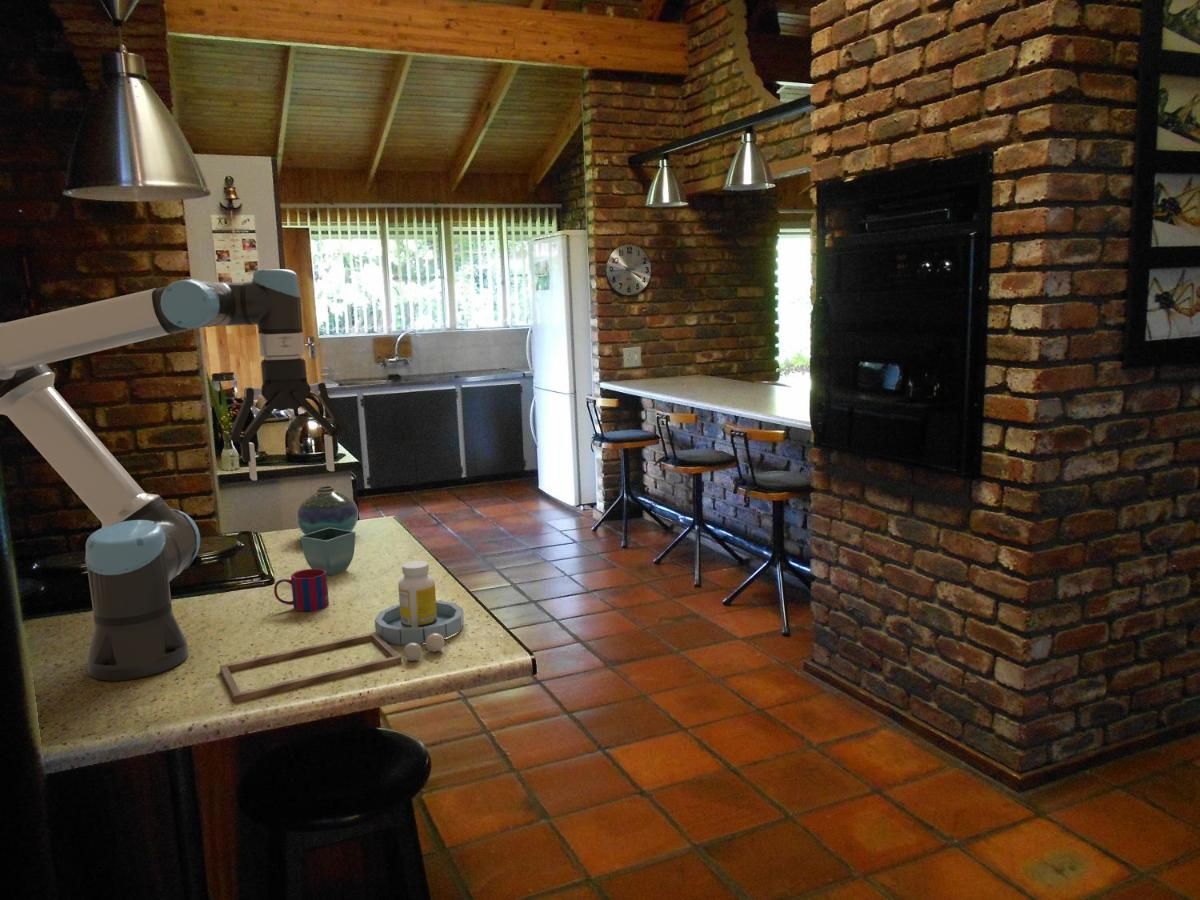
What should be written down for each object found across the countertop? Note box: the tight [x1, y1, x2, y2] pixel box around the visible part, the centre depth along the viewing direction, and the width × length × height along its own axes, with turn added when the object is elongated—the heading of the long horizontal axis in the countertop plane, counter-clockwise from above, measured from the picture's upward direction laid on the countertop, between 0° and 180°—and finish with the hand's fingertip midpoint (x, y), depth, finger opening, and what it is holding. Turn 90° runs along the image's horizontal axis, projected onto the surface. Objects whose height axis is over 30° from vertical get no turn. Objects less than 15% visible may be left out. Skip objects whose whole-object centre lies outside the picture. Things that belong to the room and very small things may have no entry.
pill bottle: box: [398, 560, 437, 628], centre depth 161 cm, size 6×6×12 cm
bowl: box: [374, 599, 465, 646], centre depth 162 cm, size 15×15×3 cm
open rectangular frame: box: [219, 631, 403, 703], centre depth 146 cm, size 26×14×1 cm, turn 121°
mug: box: [273, 568, 330, 613], centre depth 176 cm, size 7×10×7 cm
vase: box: [296, 485, 359, 535], centre depth 230 cm, size 15×15×13 cm
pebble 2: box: [425, 633, 446, 653], centre depth 151 cm, size 3×3×3 cm
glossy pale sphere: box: [403, 642, 423, 662], centre depth 148 cm, size 3×3×3 cm
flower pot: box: [299, 528, 356, 577], centre depth 199 cm, size 9×9×9 cm
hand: (293, 474), depth 161 cm, fingers open, 13 cm apart
